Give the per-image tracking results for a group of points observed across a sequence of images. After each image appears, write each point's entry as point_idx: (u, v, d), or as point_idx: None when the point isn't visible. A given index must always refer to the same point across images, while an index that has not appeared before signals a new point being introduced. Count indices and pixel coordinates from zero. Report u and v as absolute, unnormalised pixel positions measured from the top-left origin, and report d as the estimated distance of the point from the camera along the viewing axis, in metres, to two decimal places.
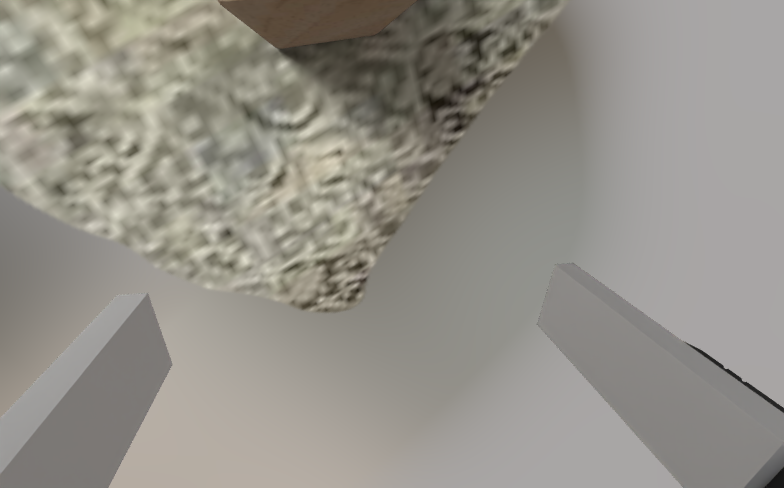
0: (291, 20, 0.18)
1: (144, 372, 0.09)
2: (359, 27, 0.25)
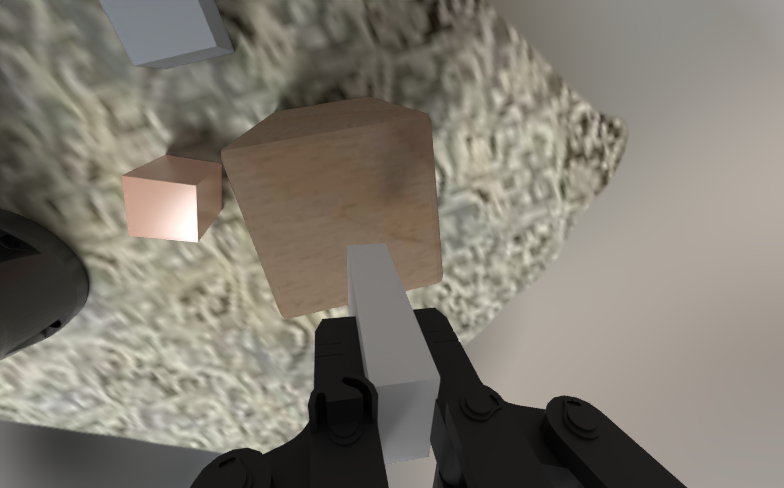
0: None
1: None
2: None
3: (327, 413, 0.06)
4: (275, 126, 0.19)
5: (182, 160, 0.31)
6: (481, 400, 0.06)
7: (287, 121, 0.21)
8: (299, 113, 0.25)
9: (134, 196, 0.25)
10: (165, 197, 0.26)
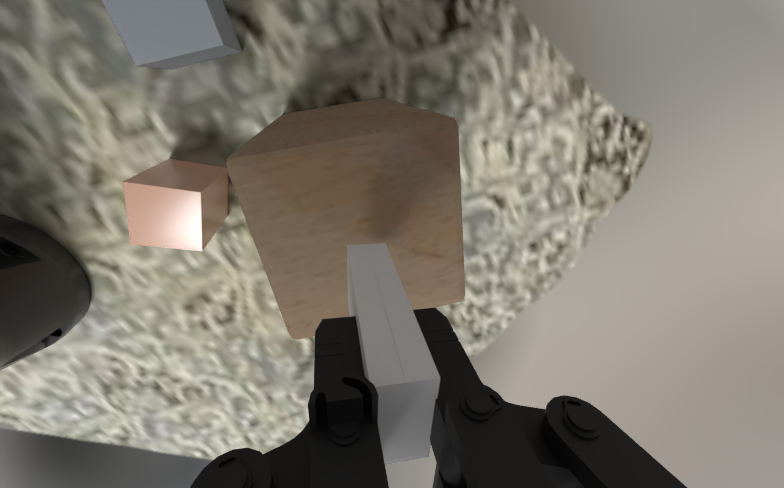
0: None
1: None
2: None
3: (327, 413, 0.06)
4: (285, 130, 0.18)
5: (187, 164, 0.30)
6: (481, 400, 0.06)
7: (298, 125, 0.19)
8: (309, 116, 0.24)
9: (136, 203, 0.24)
10: (168, 205, 0.24)
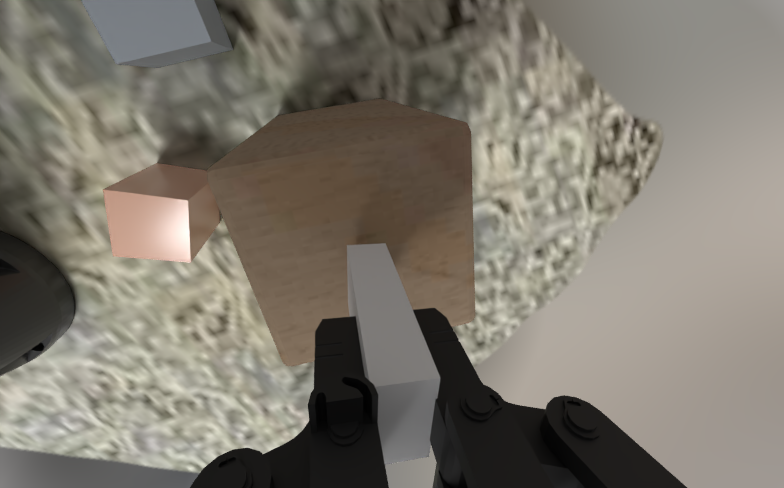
0: None
1: None
2: None
3: (327, 413, 0.06)
4: (277, 135, 0.16)
5: (175, 169, 0.28)
6: (481, 400, 0.06)
7: (291, 129, 0.17)
8: (305, 118, 0.22)
9: (118, 212, 0.22)
10: (153, 213, 0.23)
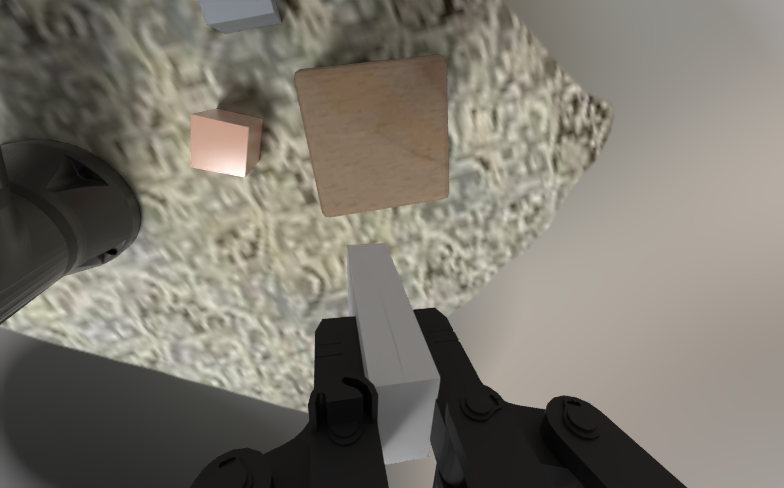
0: None
1: None
2: None
3: (327, 413, 0.06)
4: None
5: (231, 113, 0.37)
6: (481, 400, 0.06)
7: None
8: None
9: (199, 133, 0.31)
10: (223, 136, 0.31)
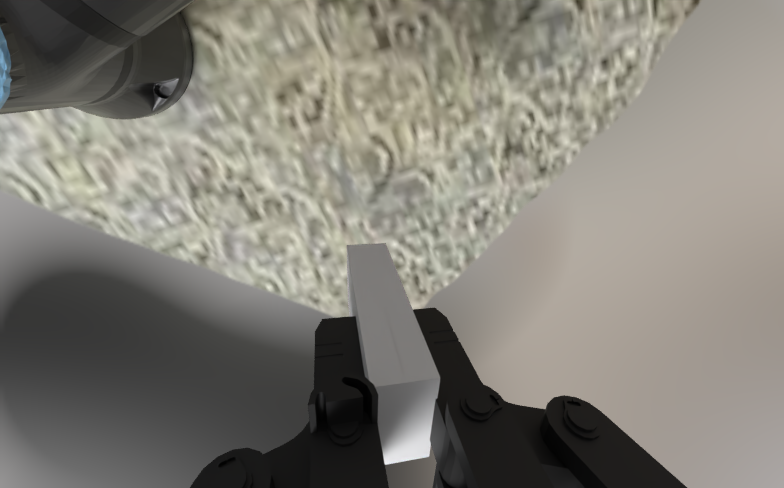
0: None
1: None
2: None
3: (327, 413, 0.06)
4: None
5: None
6: (481, 400, 0.06)
7: None
8: None
9: None
10: None
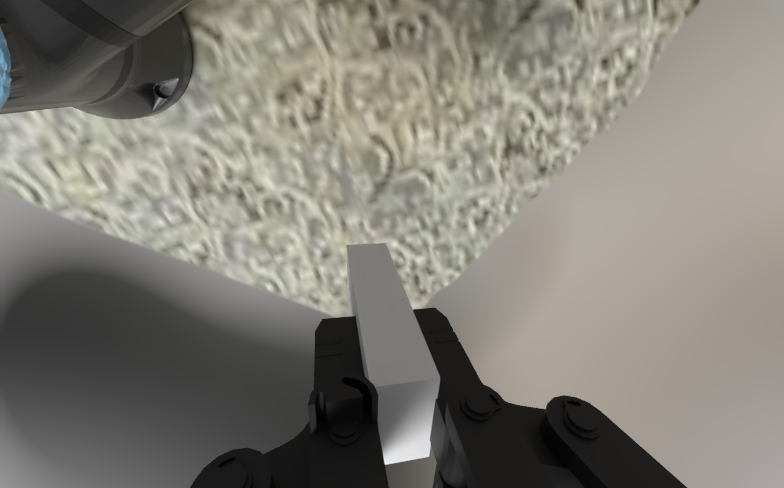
0: None
1: None
2: None
3: (327, 413, 0.06)
4: None
5: None
6: (481, 400, 0.06)
7: None
8: None
9: None
10: None
